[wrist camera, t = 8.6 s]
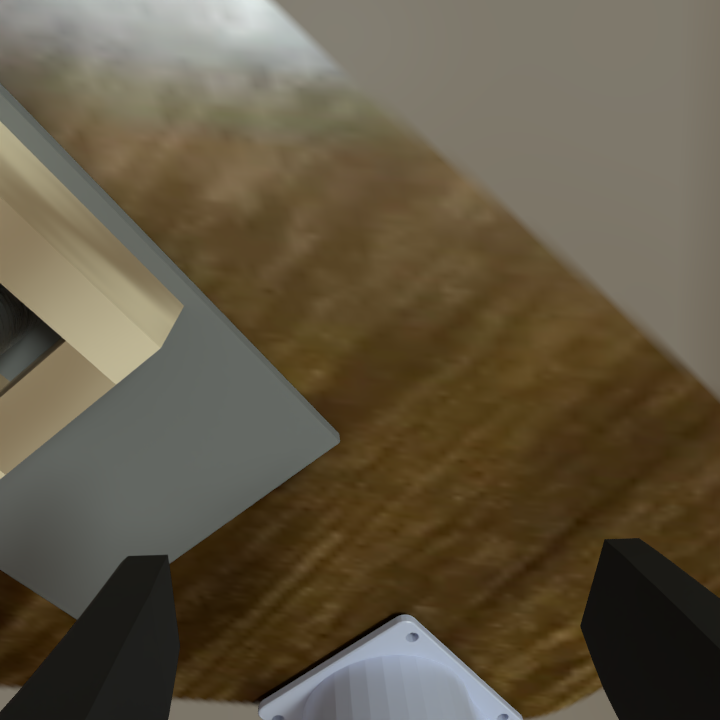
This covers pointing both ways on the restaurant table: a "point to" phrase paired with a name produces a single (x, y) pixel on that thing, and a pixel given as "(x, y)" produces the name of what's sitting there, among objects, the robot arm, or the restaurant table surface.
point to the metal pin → (14, 319)
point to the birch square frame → (68, 303)
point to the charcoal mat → (146, 430)
